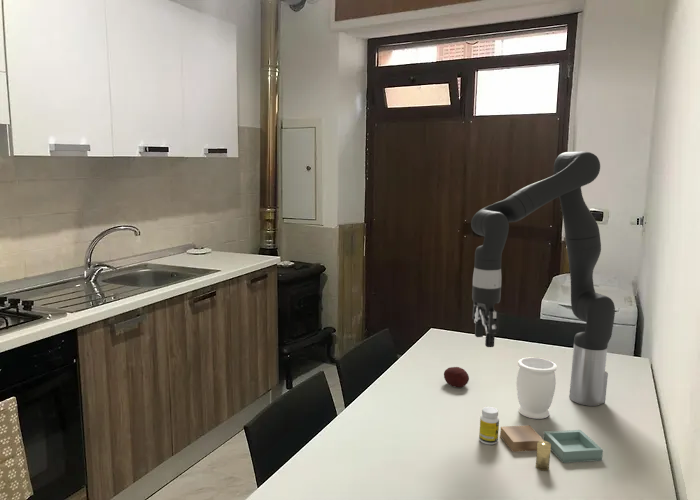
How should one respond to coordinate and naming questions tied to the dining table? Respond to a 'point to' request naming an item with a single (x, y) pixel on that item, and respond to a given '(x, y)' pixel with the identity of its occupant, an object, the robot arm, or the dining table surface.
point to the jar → (535, 386)
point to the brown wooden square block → (520, 438)
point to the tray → (573, 446)
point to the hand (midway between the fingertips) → (484, 341)
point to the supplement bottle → (489, 426)
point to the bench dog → (543, 455)
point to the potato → (456, 377)
